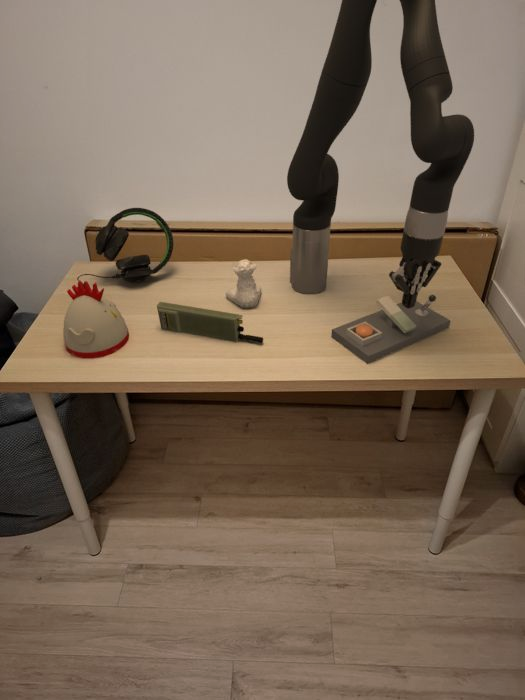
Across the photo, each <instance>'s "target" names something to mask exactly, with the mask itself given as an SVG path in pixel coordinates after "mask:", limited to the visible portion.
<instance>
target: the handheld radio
mask: <svg viewBox="0 0 525 700" xmlns="http://www.w3.org/2000/svg"><path fill="white" fill-rule="evenodd" d="M156 310H157V313H158V315H157V316H158V320H159V324H160V325H159V326H160V329H161V330H165V331H172V332H177V333H183V334H189V335H193V336H198V337H206V338H209V339H216V340H220V341H221V340H222V341H228V342H233V343H238V342H239V341H240V340H244V341H248V342H249V341H250V342H252V343H253V342H254V343H257V344H258V343H260V344H263V343H264V337H261V336H256V335H251V334H243V333H244V331H245V328H244V326H243V325H242V324H243V322H244V320H243V319H242V318H243V316H244V315H242V314H237V313H233V312H232V313H231V312H225V311H219V310H214V309H208V308H202V307H195V306H191V305H190V306H189V305H183V304H176V303H171V302H166V301H164V302H163V301H159V302H158V303H157V305H156Z"/></svg>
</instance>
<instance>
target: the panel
mask: <svg viewBox="0 0 525 700" xmlns="http://www.w3.org/2000/svg"><path fill="white" fill-rule="evenodd" d="M395 304H396V305H397V306H398V307H399V308H400V309H401V310H402V311H403V312H404V313H405V314H406V315H407V316H408V317H409V318H410V320H411V321H412V322H413V323H414V324H415V325H416V328H415V329H414V330H411V331H409V332H407V333H404V332H403V331H402V330H401V329H400V328H399V327H398V326H397V325H396V324H395V323H394V322H393V321H392V319H391V318H390V317H389V316H388V315H387V314H386V313H385V312H384V311H383V310H382V309H381V310H379V311H375V312H373V313H370V314H368V315H365V316H363V317H361V318H360V317H359V318H357V319H355V320H353V321H350V322H348V323H345V324H342V325H340V326H337V327H335V328H334V327H333V328H332V329H331V335H330V336H331V338H332V339H333V340H335V341H336V342H338V343H339V345H341V346H343V347H344V348H346V349H347V350H348V351H349V352H351V353H352V354H353V355H355V356H356V357H357V358H358V359H360V360H362V361H363V362H365V363H366V364H367V365H368V364H370V363H373V362H375V361H377V360H379V359H381V358H383V357H386V356H388V355H391V354H392V353H394V352H395V353H396V352H397V351H400V350H402V349H404V348H406V347H408V346H411V345H413V344H415V343H417V342H418V343H419V342H420V341H422V340H425V339H427V338H429V337H431V336H433V335H435V334H438V333H440V332H442V331H445V330H447V329H449V328H450V325H451V323H452V322H451V319H449V318H447V317H445V316H444V315H442V314H440V313H438V312H437V311H435V310H433V309H431V308H430V307H428V308H427V309H426V310H425V311H424V312H422V311H421V308H422V307H423V306H424V304H423V303H421V302H419V301H418V300H416V303H415V306H414V307H412V308H409V309H408V308H406V307H404V306H403V305H402V301H401V302H399V303H395ZM360 324H367V325H370V326H372V328H373V333H372V336H369V337H367V338H364V339H363V338H362V337H360V336H359V335H357V334H356V327H357V326H358V325H360Z"/></svg>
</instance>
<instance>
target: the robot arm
mask: <svg viewBox="0 0 525 700" xmlns="http://www.w3.org/2000/svg"><path fill="white" fill-rule="evenodd" d="M377 1H378V0H341V4H340V8H339V12H338V16H337V19H336V22H335V26H334V29H333V30H334V31H333V34H332V38H331V41H330V44H329V48H328V51H327V55H326V57H325V60H324V63H323V66H322V69H321V73H320V75H319V79H318V83H317V87H316V91H315V95H314V97H313V101H312V104H311V107H310V111H309V113H308V117H307V119H306V123H305V126H304V129H303V131H302V132H303V133H301V134H302V135H301V137H300V139H299V141H298V145H297V147H296V149H295V151H294V154H293V156H292V160H291V161H290V164H289V166H288V169H287V177H286V183H287V189H288V190H289V193H290V195H291V196H292V197H293V198H294V199H295V200H298V201H302V202H301V204H299V206H298V207H297V208H296V209H295V211H294V213H293V217H292V218H293V219H292V248H291V249H290V254H289V255H290V262H289V263H290V264H289V265H290V266H289V268H290V269H289V282H290V283H291V287H292V289H293V290H294V291H296V292H298V293H302V294H307V295H308V294H309V295H310V294H311V295H314V294H318V293H321V292H323V291H324V290H325V289H327V284H328V283H327V282H328V280H327V279H328V267H329V265H328V264H329V254H330V253H329V252H330V240H331V227H332V226H331V225H332V218H333V216H334V214H335V211H336V205H337V197H338V191H339V190H338V189H339V181H340V180H339V179H340V177H339V176H340V175H339V167H338V165H337V162H336V160H335V158H334V157H333V156H331V155H330V154H329V151H330V148H331V147H332V145H333V143H334V142H335V140H336V139H337V138H338V136H339V135H340V134H341V132H342V131H343V130H344V129H345V127H346V126H347V125H348V123H349V122H350V121H351V119H352V118H353V117H354V114H355V113H356V111H357V110H358V108H359V106H360V103H361V102H362V99H363V96H364V93H365V90H366V87H367V86H368V83H369V80H370V76H371V74H372V73H371V72H372V65H373V64H372V60H373V59H372V58H373V57H372V46H371V23H372V19H373V18H372V17H373V14H374V10H375V7H376V4H377ZM399 2H400V6H401V10H402V11H401V12H402V15H403V17H402V18H403V19H402V20H403V28H402V36H401V43H400V50H399V51H400V52H399V55H400V57H399V58H400V65H401V66H400V68H401V71H402V76H403V77H402V78H403V81H404V84H405V88H406V91H407V94H408V99H409V102H410V106H409V107H410V108H409V109H410V113H409V116H410V117H409V118H410V142H411V146H412V150H413V151H414V154H415V155H416V157H418V159H419V160H420V161H422V162H423V163H427V164H430V166H428V167H427V169H425V170H424V171H423V172H421V173H420V174H418V175H417V176H416V178H415V179H414V181H413V187H412V191H411V198H410V202H409V207H408V210H407V213H406V215H405V216H406V217H405V220H404V227H403V230H402V231H403V232H402V238H401V243H400V251H401V255H402V257H401V259H400V261H399V264H398V265H399V267H398V268H397V269H396V271H393V270H391V271H390V272H389V274H388V276H389V278H390V279H391V282H392V283H393V285H394V286H395V288H396V289H397V290H398V291H400V292H402V293H403V294H402V299H401V302H402V305H403V306H404V307H406V308H408V309H409V308H412V307H414V306H415V303H416V301H418V299H417V298H418V295H419V293H420V291H421V290H422V288H427V287H428V285H429V283H430V282H431V281H432V279H433V278H434V276H435V275H436V273H437V272H438V271H439V269H440V268H441V266H442V262H441V261H439V260H436V258H437V257H438V256H439V255H440V252H441V249H442V248H441V247H442V244H443V240H444V236H445V232H446V227H447V223H448V216H449V209H450V204H451V200H452V196H453V191H454V187H455V185H456V183H457V181H458V179H459V178H460V175H461V174H462V172H463V169H464V167H465V165H466V163H467V162H468V159H469V158H470V155H471V153H472V149H473V146H474V144H475V143H474V141H475V127H474V124H473V122H472V120H471V119H470V118H469V117H467V116H466V115H465V114H459V113H457V114H450V115H444V116H443V112H442V104H443V103H444V102H446V101H447V100H448V99H449V98H450V96H451V95H452V93H453V88H454V87H453V81H452V77H451V73H450V70H449V69H450V68H449V65H448V62H447V57H446V54H445V51H444V47H443V42H442V38H441V33H440V30H439V23H438V15H437V8H436V0H399Z"/></svg>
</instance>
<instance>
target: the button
mask: <svg viewBox="0 0 525 700" xmlns="http://www.w3.org/2000/svg"><path fill="white" fill-rule="evenodd" d="M372 333H373V328H372V326H370V325H367V324H360V325H358V326H357V327H356V334H357V335H359V336H360V337H362V338H363V339H364V338H367V337H369V336H372Z"/></svg>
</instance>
